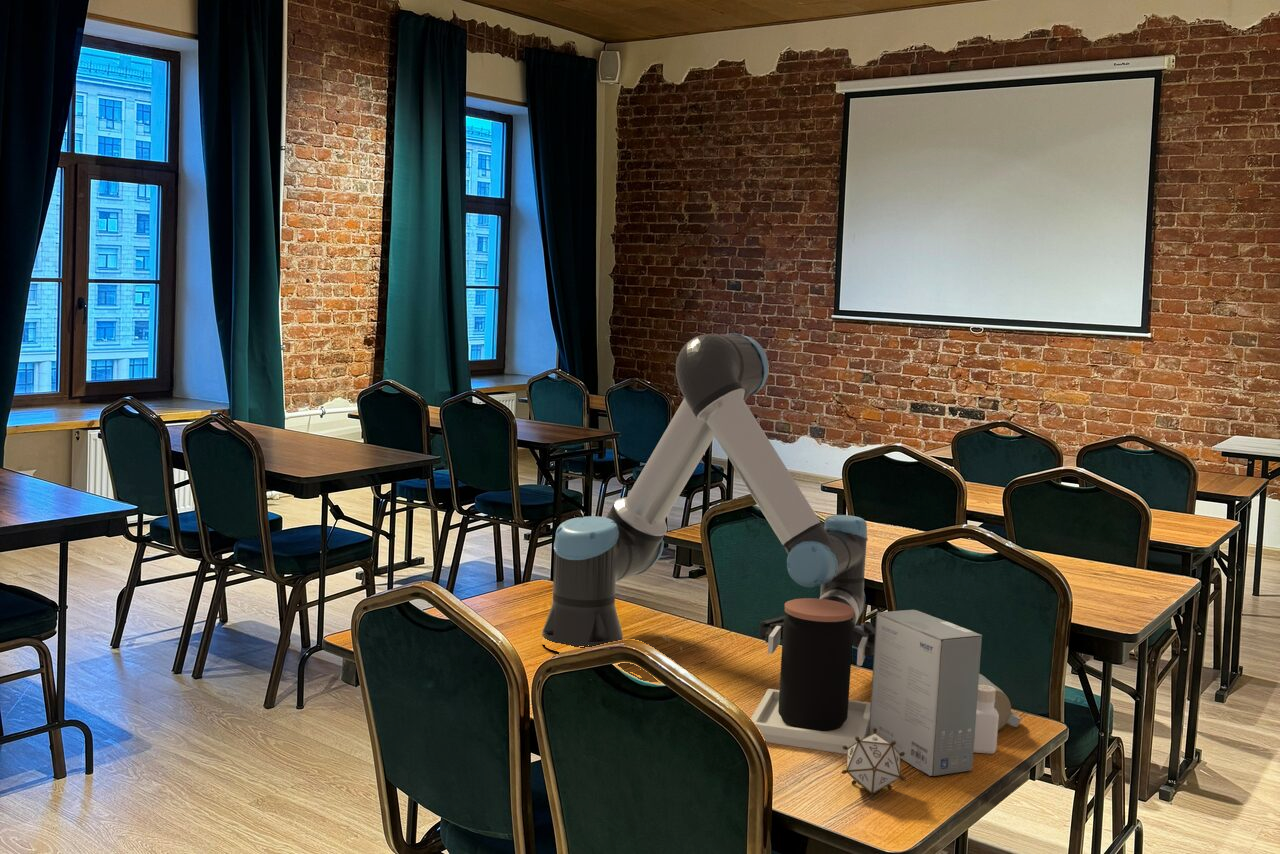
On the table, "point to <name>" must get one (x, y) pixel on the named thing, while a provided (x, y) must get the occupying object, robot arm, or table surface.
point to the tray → (829, 741)
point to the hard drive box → (926, 690)
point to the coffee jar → (816, 664)
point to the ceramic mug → (1001, 705)
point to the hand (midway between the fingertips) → (814, 650)
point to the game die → (873, 763)
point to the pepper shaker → (986, 721)
